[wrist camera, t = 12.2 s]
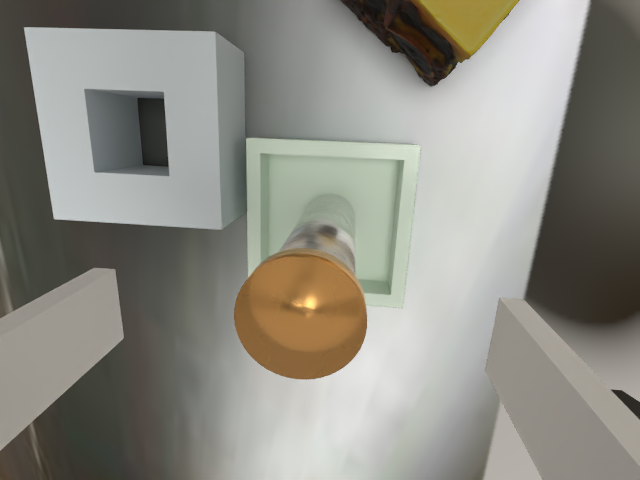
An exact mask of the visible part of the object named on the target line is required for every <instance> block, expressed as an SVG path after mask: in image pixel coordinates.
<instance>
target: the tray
mask: <svg viewBox="0 0 640 480" xmlns="http://www.w3.org/2000/svg"><path fill="white" fill-rule="evenodd" d="M420 150H421V146H420V145H415V144H394V143H372V142H349V141H327V140H304V139H282V138H259V137H257V138H246V160H247V241H248V278H249V277H250V275H251V274H252V272H253V271H254V270H255V268H256V267H257V266H258V265H259V264H260V263H261V262H263V261H264V260H265V259H266V258H268V257H270V256H271V255H273V254H275V253H278V252H279V250H280V249H281V247H282V246H283V244H284V243H285V241H286V240H287V238H288V237H289V235H290V233H291V232H292V230H293V229H294V227H295V226H296V224H297V223H298V221H299V220H300V218H301V217H302V215H303V214H304V212H305V211H306V209H307V208H308V206H309V205H310V203H311V202H312V201H313V200H314V199H315V198H317V197H318V196H321V195H323V194H337V195H340V196H342V197H344V198H345V199H347V200H348V201H349V202H350V204H351V205H352V207H353V209H354V211H355V217H356V249H355V275H356V277H357V279H358V280H359V282H360V284H361V286H362V289H363V292H364V295H365V301H366V305H369V306H382V307H395V308H403V303H404V294H405V285H406V276H407V267H408V258H409V249H410V240H411V231H412V222H413V213H414V204H415V195H416V186H417V177H418V168H419V159H420Z"/></svg>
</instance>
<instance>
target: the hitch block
mask: <svg viewBox="0 0 640 480" xmlns="http://www.w3.org/2000/svg"><path fill="white" fill-rule="evenodd" d="M24 31H25V37H26V43H27V50H28V56H29V62H30V69H31V75H32V81H33V88H34V94H35V101H36V107H37V113H38V120H39V126H40V132H41V139H42V145H43V152H44V158H45V164H46V171H47V177H48V183H49V190H50V196H51V202H52V209H53V215H54V219H61V220H77V221H93V222H108V223H124V224H140V225H155V226H171V227H187V228H202V229H218V230H222V229H223V228H225V227H226V226H228V225H229V224H230V223H232V222H233V221H235V220H236V219H237V218H239V217H240V216H242V215H243V214H244V213H246V140H245V63H244V52H243V51H241V50H240V49H238V48H237V47H236V46H234V45H233V44H232V43H230V42H229V41H228V40H226V39H225V38H223V37H222V36H221V35H219V34H218V33H217V32H211V31H167V30H123V29H79V28H35V27H24ZM137 98H160V99H164V103H165V117H166V132H167V147H168V161H169V166H149V165H143V159H142V147H141V136H140V124H139V113H138V101H137Z"/></svg>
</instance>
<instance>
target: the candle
mask: <svg viewBox="0 0 640 480" xmlns="http://www.w3.org/2000/svg"><path fill="white" fill-rule="evenodd" d="M341 1H342V2H343V3H345V4H346V5H347V6H348V7H349V8H350V9H351V10H352V11H353V12H354V13H355V14H356V15H357V17H358V19H359V20H360V21H362V22H363V23H364V24H365V26H366V27H368V28H369V29H370V30H371V31H372V32H374V33H375V34H376V35H377V36H378V38H379V39H380V40H381V41H382V42H383V43H384V44H385V45H386V46H391V50H392V52H396V53H397V52H402V53H404V54H405V55H406V57H407V58H408V59H409V61H410V62H411V64H412V65H413V66H414V67H415V69H416V71H417V73H418V75H419V76H420V77H422V78H423V80H424V81H425V82H426V83H428V84H429V85H430V86H435V85H436V84H438V82H439V81H440V80H442V79H444V78H446V77H447V76H448V75H449V74H450V73H451V72H452V70H453V69H454V68H455V67H456V65H457V63H458V61H459V62H460V63H462V62H463V61H464V60H465V59H469V58H470V57H471V56H472V55H473V54H474V53H475V52H476V51H477V50H478V49H479V48H480V47H481V46H482V45H483V44H484V43H485V42H486V40H487V39H488V38H489V37H490V36H491V35H492V33H493V32H494V31H495V29H496V28H497V27H498V25H499V24H500V23H501V22H502V21H503V20H504V19H505V18H506V17H507V16H508V15H509V13H510V11H511V10H512V9H513V7H514V6H515V5H516V4H517V3H518V2H519V0H341Z"/></svg>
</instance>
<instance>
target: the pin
mask: <svg viewBox="0 0 640 480" xmlns="http://www.w3.org/2000/svg"><path fill="white" fill-rule="evenodd" d="M355 249H356V217H355V211H354V209H353V207H352V205H351V204H350V202H349V201H348V200H347V199H345V198H344V197H342V196H340V195H337V194H323V195H321V196H318V197H317V198H315V199H314V200H313V201H312V202H311V203H310V205H309V206H308V208H307V209H306V211H305V212H304V214H303V215H302V217H301V218H300V220H299V221H298V223H297V224H296V226H295V227H294V229H293V230H292V232H291V233H290V235H289V237H288V238H287V240H286V241H285V243H284V244H283V246H282V247H281V249H280V250H279V252H278V253H275V254H273V255H271V256H270V257H268V258H266V259H265V260H264V261H263V262H261V263H260V264H259V265H258V266H257V267H256V268H255V270H254V271H253V272H252V274H251V275H250V277H249V278H248V279H247V281H246V282H245V283H244V285H243V286H242V288H241V290H240V292H239V294H238V297H237V299H236V303H235V309H234V320H235V327H236V331H237V334H238V336H239V339H240V341H241V343H242V345H243V346H244V348H245V349H246V351H247V352H248V353H249V354H250V355H251V357H252V358H253V359H254V360H255V361H257V362H258V363H259V364H260V365H262V366H263V367H265V368H266V369H268V370H270V371H272V372H274V373H276V374H279V375H281V376H285V377H288V378H294V379H316V378H321V377H324V376H327V375H330V374H332V373H335V372H337V371H338V370H340V369H342V368H343V367H345V366H346V365H347V364H348V363H349V362H350V361H351V360H352V359H353V358H354V357H355V356H356V354H357V353H358V351H359V350H360V348H361V346H362V344H363V341H364V338H365V335H366V329H367V314H366V301H365V295H364V292H363V289H362V286H361V284H360V282H359V280H358V279H357V277H356V275H355Z"/></svg>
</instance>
